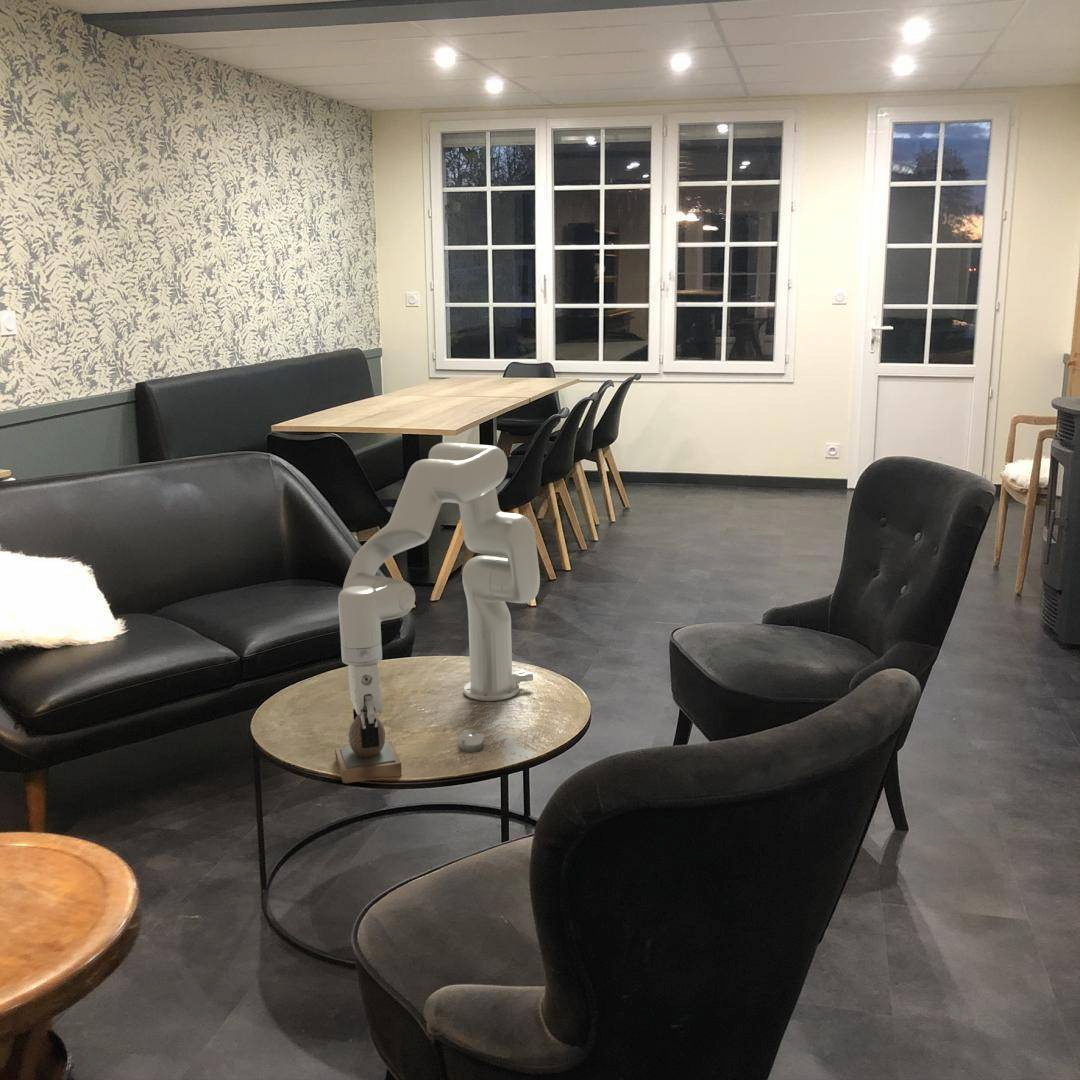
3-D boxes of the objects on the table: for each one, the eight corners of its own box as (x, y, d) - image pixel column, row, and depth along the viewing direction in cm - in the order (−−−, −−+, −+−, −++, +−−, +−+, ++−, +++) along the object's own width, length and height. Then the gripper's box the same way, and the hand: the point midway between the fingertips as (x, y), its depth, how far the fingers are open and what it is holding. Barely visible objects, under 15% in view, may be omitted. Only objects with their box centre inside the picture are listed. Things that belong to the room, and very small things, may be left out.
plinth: (391, 752, 221) (390, 739, 220) (401, 775, 211) (401, 761, 210) (335, 760, 218) (334, 747, 217) (343, 783, 207) (342, 769, 207)
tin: (480, 742, 226) (479, 728, 225) (486, 751, 221) (486, 737, 220) (456, 745, 224) (455, 731, 223) (461, 755, 219) (461, 740, 219)
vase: (391, 748, 216) (389, 705, 214) (377, 762, 210) (374, 718, 208) (359, 744, 218) (356, 702, 216) (343, 759, 212) (341, 715, 210)
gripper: (389, 664, 202) (393, 752, 206) (374, 636, 218) (378, 718, 222) (348, 668, 200) (353, 757, 204) (335, 640, 216) (340, 723, 220)
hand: (366, 737), depth 213 cm, fingers open, 9 cm apart
